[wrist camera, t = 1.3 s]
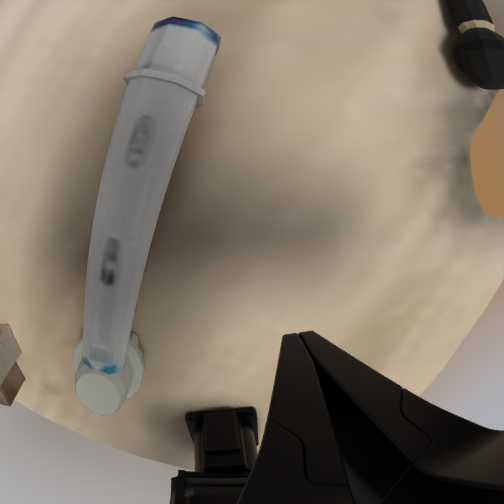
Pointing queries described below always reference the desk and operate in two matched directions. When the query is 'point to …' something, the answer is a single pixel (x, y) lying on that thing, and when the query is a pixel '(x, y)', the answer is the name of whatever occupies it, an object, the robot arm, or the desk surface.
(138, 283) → the grey elongated rounded piece
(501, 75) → the microphone
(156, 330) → the desk surface
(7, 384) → the rail
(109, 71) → the desk surface
